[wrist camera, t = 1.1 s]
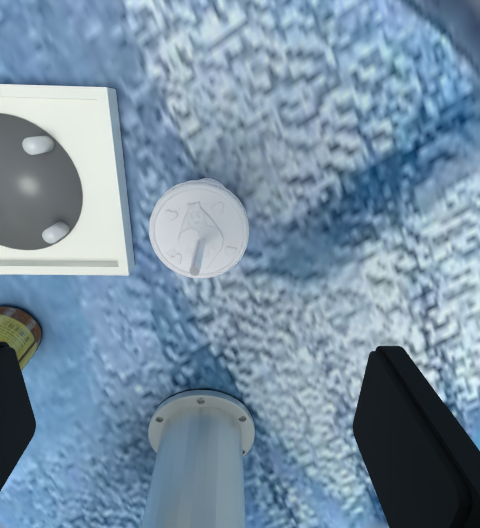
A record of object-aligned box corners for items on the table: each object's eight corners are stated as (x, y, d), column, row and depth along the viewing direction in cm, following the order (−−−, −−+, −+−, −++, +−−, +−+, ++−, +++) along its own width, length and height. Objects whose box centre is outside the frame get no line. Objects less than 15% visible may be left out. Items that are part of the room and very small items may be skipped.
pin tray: (135, 265, 33) (124, 281, 29) (-60, 263, 32) (-92, 280, 29) (116, 89, 27) (100, 85, 23) (-125, 82, 26) (-175, 77, 23)
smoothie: (179, 238, 32) (146, 322, 19) (163, 167, 29) (113, 210, 16) (248, 228, 32) (261, 306, 19) (238, 156, 29) (245, 190, 16)
